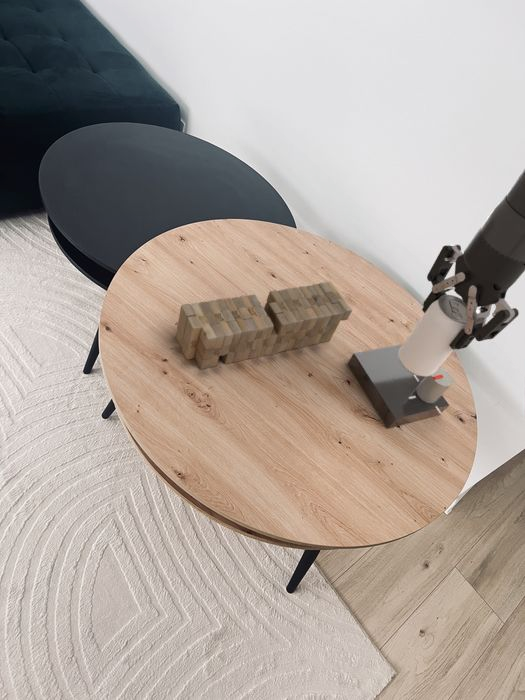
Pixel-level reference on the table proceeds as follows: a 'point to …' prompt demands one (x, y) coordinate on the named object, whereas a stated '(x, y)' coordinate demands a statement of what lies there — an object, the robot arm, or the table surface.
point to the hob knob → (434, 386)
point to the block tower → (260, 324)
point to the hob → (392, 387)
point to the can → (433, 336)
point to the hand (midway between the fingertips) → (441, 328)
